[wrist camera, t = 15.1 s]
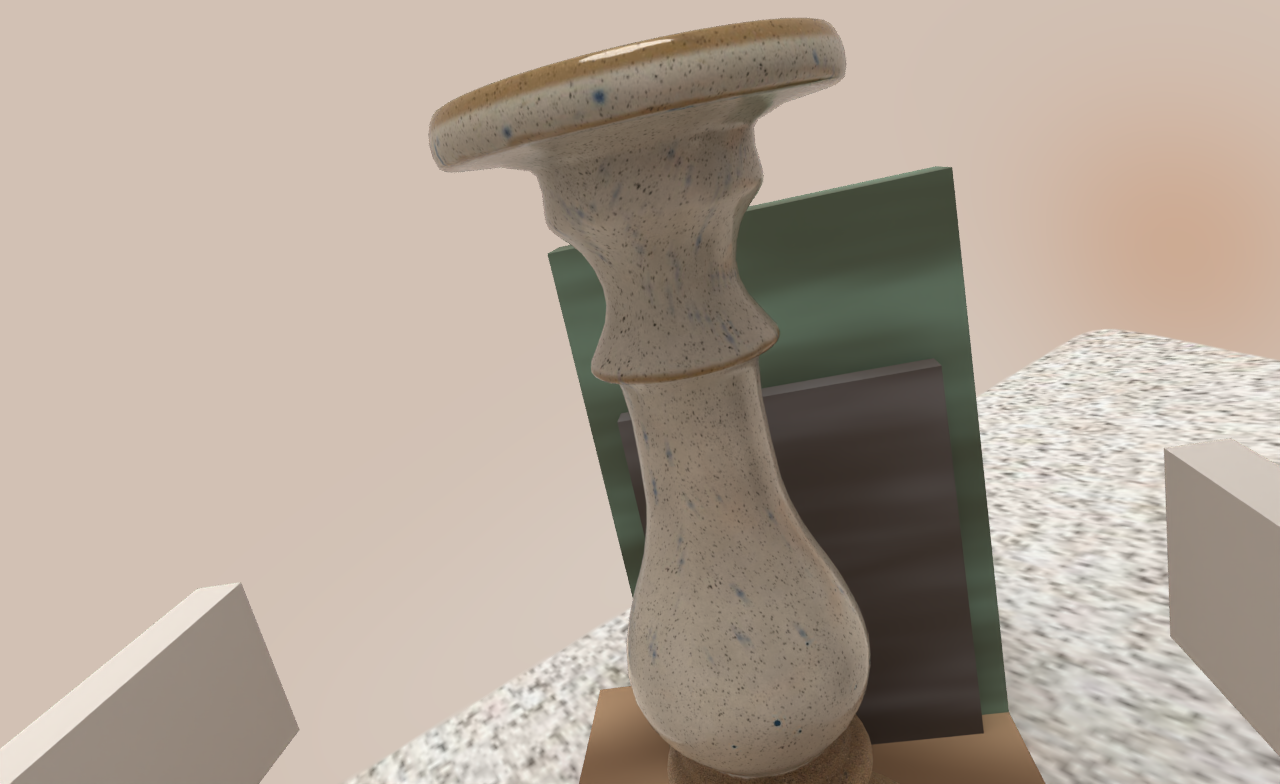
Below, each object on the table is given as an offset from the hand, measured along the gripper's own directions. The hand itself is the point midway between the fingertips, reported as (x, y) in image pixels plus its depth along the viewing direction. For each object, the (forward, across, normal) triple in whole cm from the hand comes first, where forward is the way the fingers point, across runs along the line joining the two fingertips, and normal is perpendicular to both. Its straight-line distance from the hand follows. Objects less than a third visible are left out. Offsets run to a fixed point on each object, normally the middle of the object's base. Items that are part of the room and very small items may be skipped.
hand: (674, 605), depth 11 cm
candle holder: (+6, 0, -13) cm, 14 cm away
